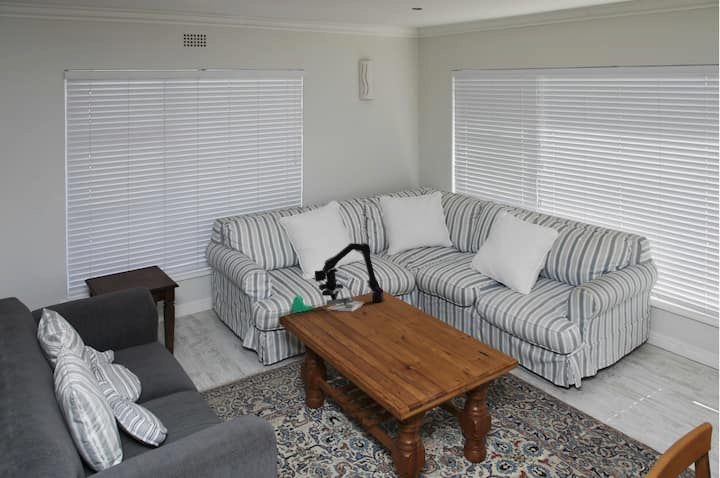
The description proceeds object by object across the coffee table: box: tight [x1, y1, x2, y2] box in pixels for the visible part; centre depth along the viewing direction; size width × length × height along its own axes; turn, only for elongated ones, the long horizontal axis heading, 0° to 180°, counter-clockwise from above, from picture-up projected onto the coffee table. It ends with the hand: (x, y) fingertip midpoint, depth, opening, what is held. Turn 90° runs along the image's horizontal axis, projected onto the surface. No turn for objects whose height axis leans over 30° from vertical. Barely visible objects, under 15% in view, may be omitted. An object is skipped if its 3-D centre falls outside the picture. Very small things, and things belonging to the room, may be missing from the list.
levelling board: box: [326, 300, 365, 312], centre depth 388 cm, size 18×18×4 cm
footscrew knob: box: [325, 296, 353, 306], centre depth 388 cm, size 17×6×4 cm, turn 102°
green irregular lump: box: [290, 294, 313, 313], centre depth 389 cm, size 12×8×10 cm, turn 52°
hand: (334, 302), depth 390 cm, fingers closed
